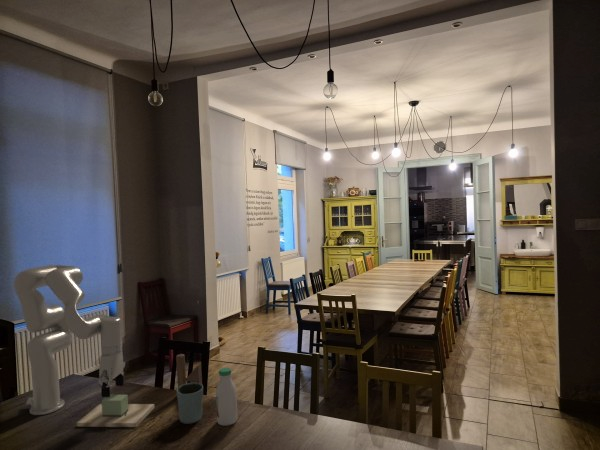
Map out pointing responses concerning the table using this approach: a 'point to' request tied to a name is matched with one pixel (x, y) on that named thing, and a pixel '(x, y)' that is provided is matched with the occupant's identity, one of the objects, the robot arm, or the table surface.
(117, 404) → the block
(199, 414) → the blue cup
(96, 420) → the birch board
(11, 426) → the table surface
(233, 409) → the milk bottle
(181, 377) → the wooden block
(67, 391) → the table surface
